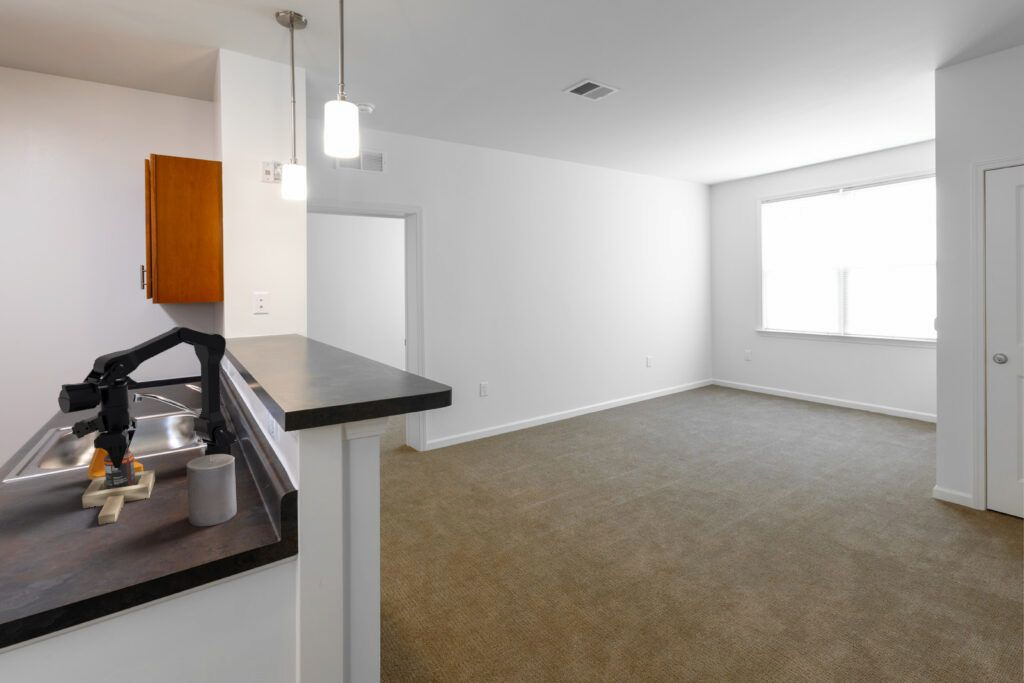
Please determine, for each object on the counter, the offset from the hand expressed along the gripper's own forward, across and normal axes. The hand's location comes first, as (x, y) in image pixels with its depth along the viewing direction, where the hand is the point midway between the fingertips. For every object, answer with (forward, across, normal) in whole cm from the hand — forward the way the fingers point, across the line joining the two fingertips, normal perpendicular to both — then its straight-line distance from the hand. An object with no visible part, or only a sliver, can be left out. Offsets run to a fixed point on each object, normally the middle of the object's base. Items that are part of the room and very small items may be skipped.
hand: (119, 463), depth 129 cm
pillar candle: (+8, +26, +21) cm, 34 cm away
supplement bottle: (+7, 0, 0) cm, 7 cm away
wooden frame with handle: (+8, +6, 0) cm, 10 cm away
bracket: (+8, -14, -3) cm, 16 cm away
